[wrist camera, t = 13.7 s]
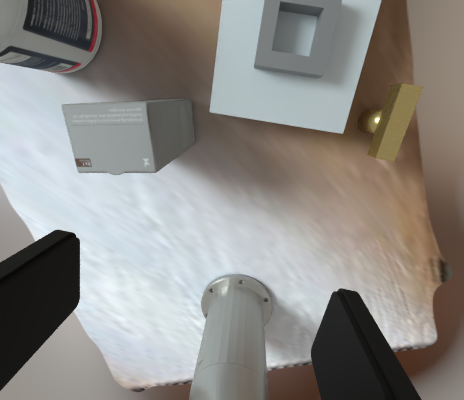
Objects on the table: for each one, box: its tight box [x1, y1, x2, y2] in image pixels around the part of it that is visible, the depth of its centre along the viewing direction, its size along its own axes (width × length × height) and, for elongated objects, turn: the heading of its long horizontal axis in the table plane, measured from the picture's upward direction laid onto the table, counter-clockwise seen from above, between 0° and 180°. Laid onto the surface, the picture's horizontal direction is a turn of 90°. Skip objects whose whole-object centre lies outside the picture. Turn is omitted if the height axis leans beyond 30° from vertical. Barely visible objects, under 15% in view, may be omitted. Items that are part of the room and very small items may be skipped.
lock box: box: [210, 0, 381, 134], centre depth 30 cm, size 18×16×8 cm
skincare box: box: [61, 99, 195, 175], centre depth 31 cm, size 8×7×16 cm
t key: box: [358, 83, 423, 161], centre depth 32 cm, size 3×8×7 cm, turn 171°
